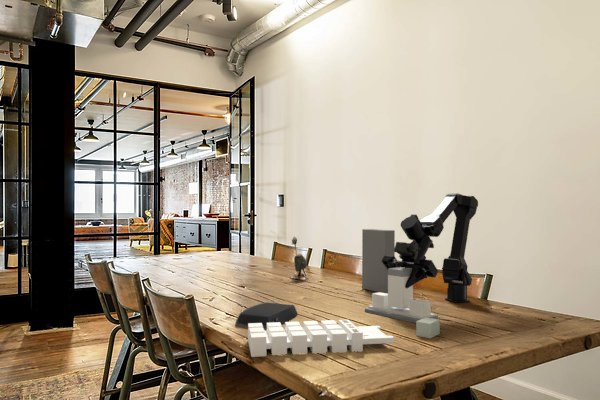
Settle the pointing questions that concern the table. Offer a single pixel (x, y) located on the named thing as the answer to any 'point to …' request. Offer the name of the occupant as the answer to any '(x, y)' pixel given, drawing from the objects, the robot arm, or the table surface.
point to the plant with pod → (299, 264)
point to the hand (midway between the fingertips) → (397, 286)
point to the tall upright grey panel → (376, 258)
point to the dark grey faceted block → (266, 314)
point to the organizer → (312, 337)
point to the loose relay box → (428, 327)
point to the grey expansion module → (399, 288)
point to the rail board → (415, 313)
